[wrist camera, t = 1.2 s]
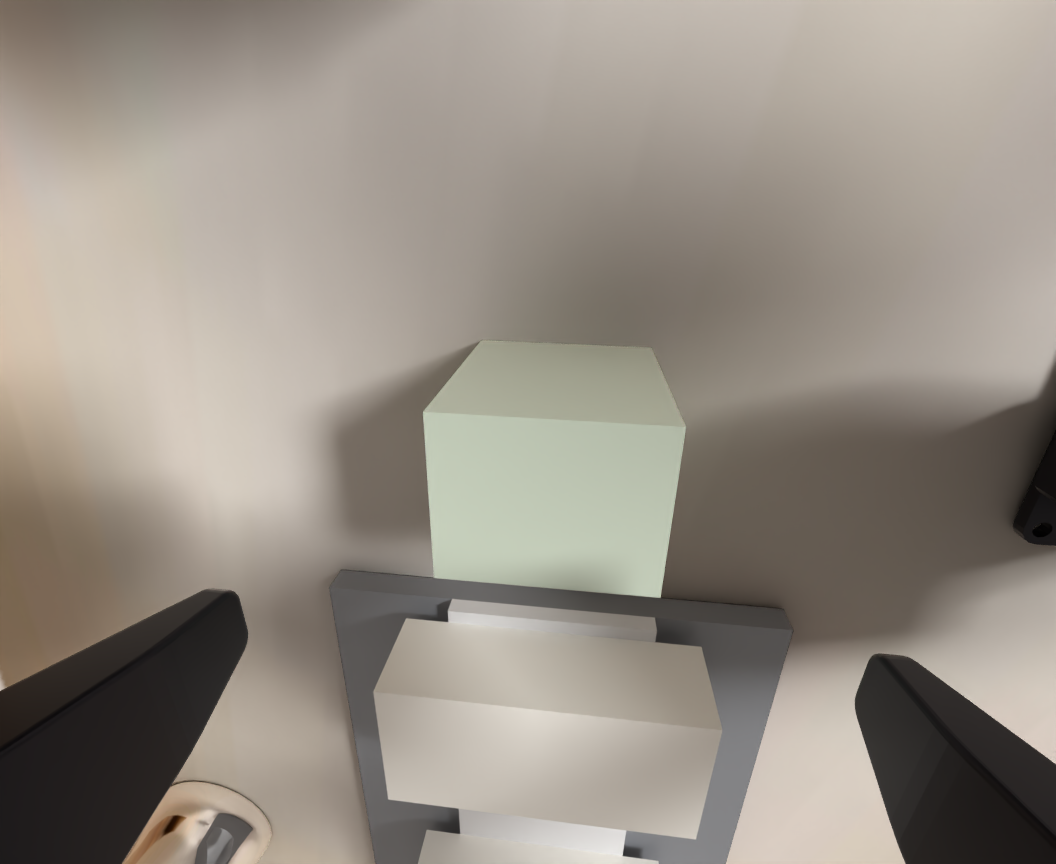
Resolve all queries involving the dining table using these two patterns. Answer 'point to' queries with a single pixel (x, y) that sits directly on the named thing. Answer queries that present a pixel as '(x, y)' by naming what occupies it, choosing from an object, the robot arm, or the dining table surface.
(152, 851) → the beer glass
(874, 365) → the dining table surface
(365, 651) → the rail panel
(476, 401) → the block
